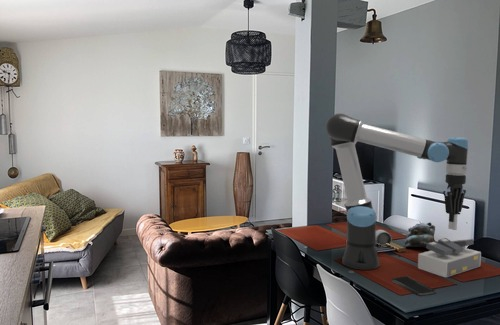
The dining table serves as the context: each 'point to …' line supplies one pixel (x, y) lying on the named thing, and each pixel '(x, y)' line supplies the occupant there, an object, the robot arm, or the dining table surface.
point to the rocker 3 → (464, 242)
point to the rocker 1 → (439, 248)
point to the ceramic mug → (382, 237)
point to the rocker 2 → (451, 245)
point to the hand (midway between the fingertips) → (452, 229)
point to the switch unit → (449, 262)
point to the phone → (413, 286)
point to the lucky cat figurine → (420, 235)
